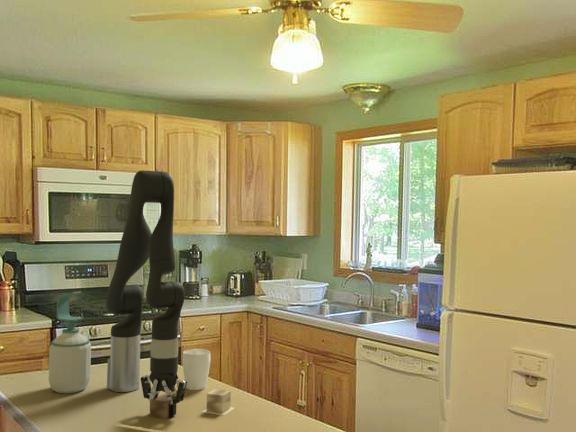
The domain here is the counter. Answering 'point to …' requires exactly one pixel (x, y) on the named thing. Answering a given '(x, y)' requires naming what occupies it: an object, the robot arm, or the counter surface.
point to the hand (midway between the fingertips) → (162, 415)
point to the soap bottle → (69, 353)
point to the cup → (196, 368)
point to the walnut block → (159, 407)
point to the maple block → (218, 400)
